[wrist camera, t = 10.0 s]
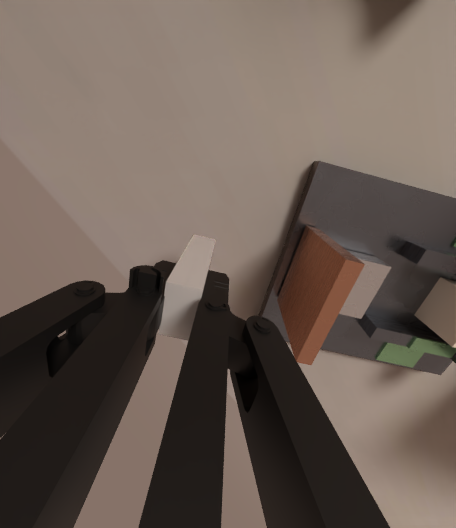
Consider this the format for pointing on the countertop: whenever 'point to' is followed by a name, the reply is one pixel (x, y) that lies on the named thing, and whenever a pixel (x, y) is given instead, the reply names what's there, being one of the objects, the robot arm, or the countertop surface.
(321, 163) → the grey slider puzzle board
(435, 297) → the cream cube block
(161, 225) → the countertop surface
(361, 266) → the two-tone wooden block
